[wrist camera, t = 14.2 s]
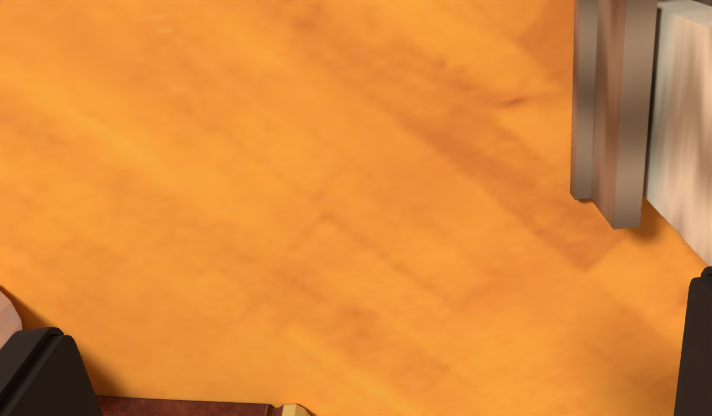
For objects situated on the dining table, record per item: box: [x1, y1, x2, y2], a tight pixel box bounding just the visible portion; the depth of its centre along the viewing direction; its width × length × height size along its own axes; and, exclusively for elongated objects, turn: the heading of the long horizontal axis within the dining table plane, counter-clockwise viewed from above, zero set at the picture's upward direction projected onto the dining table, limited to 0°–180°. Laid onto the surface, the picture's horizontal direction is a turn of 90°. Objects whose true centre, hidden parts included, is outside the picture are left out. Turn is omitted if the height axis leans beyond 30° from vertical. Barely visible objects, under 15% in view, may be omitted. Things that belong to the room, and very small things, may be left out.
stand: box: [570, 0, 712, 229], centre depth 34 cm, size 12×8×5 cm, turn 7°
